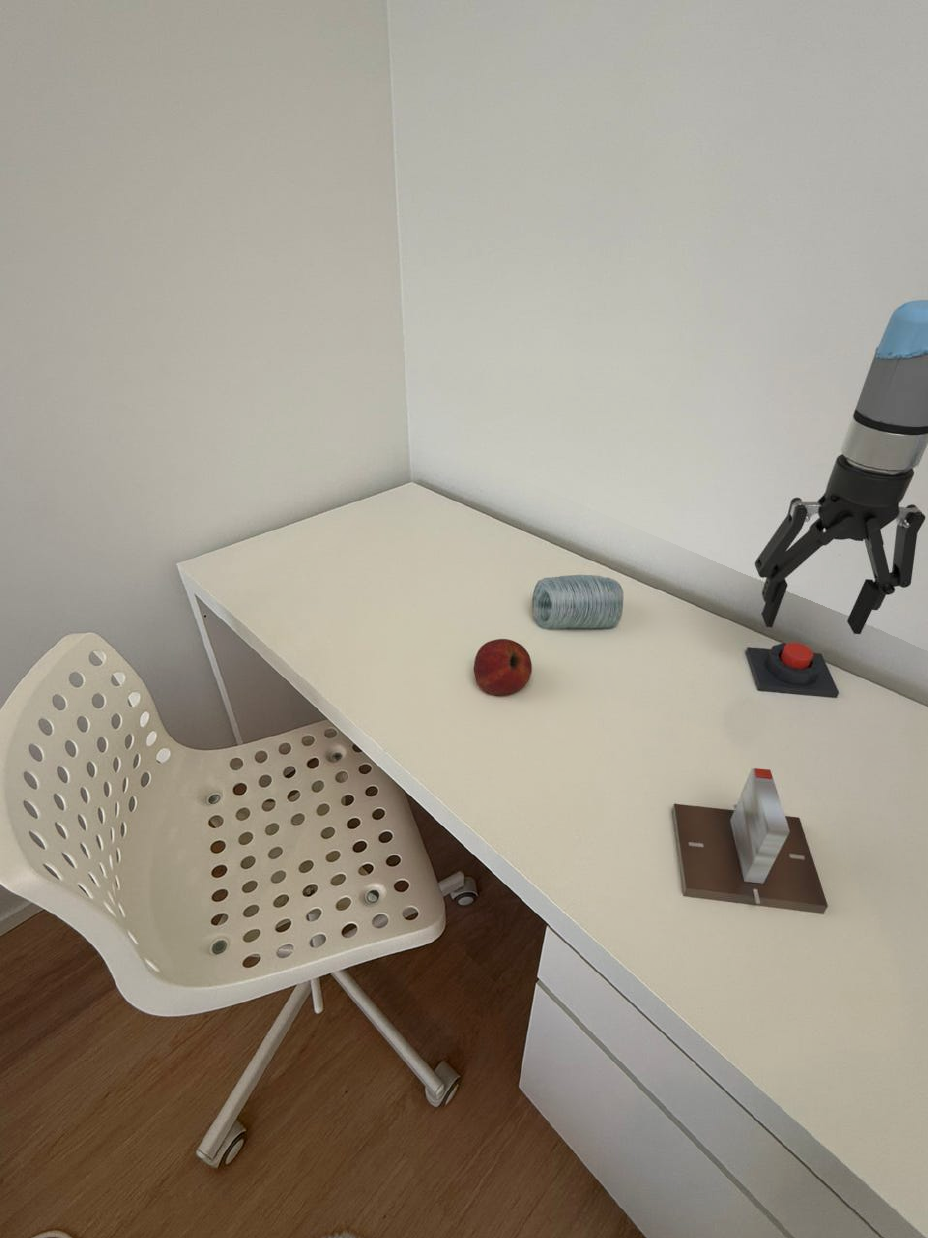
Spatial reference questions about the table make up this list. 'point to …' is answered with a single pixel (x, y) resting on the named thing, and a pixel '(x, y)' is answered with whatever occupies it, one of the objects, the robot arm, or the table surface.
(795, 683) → the switch block
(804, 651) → the button
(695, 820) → the base
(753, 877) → the tap handle
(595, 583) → the spool
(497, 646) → the apple
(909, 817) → the table surface
